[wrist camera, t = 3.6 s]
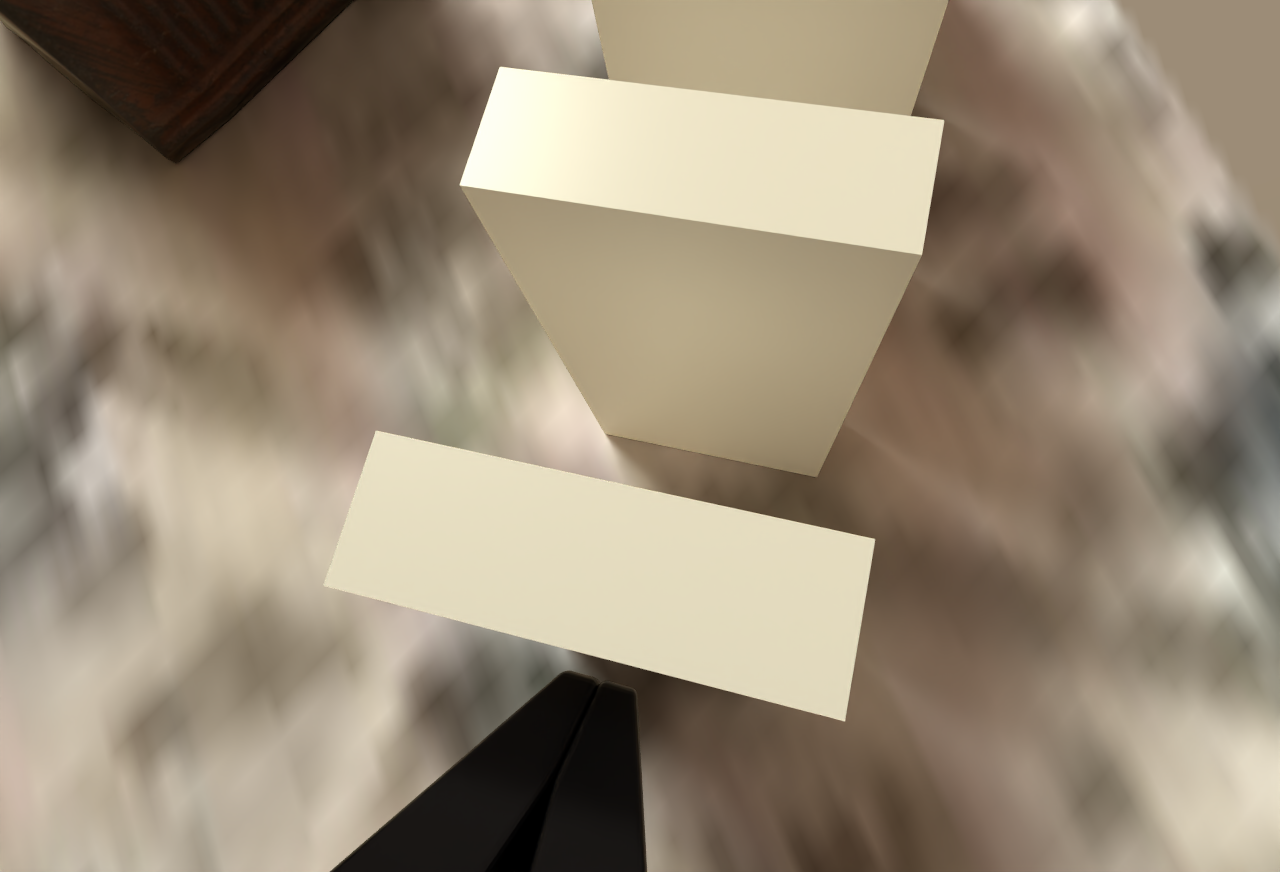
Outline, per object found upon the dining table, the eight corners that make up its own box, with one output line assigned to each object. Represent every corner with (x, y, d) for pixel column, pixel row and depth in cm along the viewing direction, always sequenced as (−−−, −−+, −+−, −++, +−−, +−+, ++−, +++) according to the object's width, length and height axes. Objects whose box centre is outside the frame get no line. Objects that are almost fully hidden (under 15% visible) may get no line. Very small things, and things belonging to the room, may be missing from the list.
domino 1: (850, 298, 18) (980, -94, 9) (649, 265, 19) (565, -124, 10) (861, 239, 19) (997, -199, 9) (664, 209, 19) (596, -217, 10)
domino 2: (816, 477, 17) (921, 255, 8) (605, 433, 18) (459, 184, 8) (829, 411, 18) (944, 120, 8) (621, 371, 18) (499, 66, 9)
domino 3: (778, 680, 16) (844, 720, 6) (554, 623, 17) (323, 585, 7) (792, 605, 16) (875, 539, 7) (573, 553, 17) (375, 430, 8)
